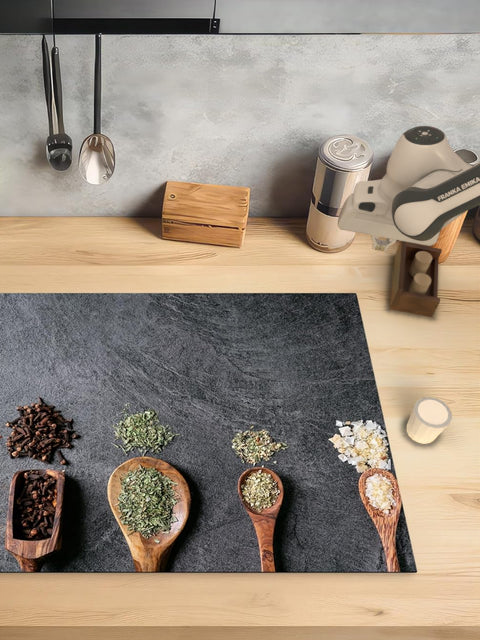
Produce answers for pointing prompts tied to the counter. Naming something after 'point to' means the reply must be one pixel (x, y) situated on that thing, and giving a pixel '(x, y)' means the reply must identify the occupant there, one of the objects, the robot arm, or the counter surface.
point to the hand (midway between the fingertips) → (378, 248)
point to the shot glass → (428, 420)
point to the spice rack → (415, 279)
